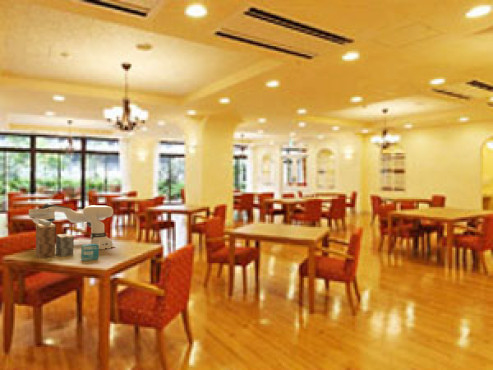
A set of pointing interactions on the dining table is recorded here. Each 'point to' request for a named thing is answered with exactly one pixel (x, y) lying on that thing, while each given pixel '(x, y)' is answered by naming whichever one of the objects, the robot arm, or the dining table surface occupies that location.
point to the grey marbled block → (64, 244)
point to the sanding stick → (44, 222)
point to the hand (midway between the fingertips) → (43, 208)
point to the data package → (89, 252)
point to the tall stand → (45, 240)
